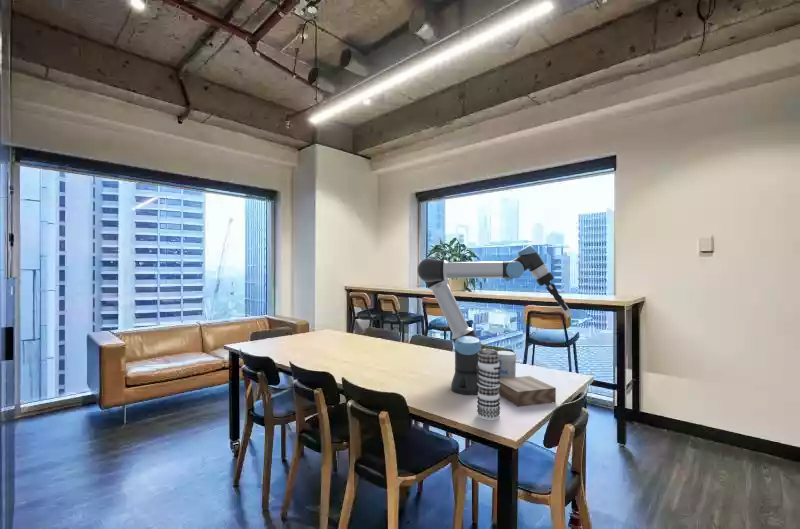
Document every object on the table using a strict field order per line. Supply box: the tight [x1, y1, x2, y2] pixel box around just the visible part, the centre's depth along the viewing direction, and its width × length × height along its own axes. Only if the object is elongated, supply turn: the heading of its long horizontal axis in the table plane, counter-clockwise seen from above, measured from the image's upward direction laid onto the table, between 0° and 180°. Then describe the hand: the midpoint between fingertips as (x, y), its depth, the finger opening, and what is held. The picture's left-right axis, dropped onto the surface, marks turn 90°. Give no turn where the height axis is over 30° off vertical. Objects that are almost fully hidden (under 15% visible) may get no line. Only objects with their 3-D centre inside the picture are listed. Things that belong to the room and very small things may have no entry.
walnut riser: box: [498, 375, 557, 408], centre depth 166 cm, size 18×18×6 cm
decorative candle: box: [476, 348, 501, 421], centre depth 145 cm, size 9×9×25 cm
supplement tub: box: [496, 350, 517, 379], centre depth 186 cm, size 10×10×15 cm
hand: (568, 313), depth 179 cm, fingers open, 13 cm apart
